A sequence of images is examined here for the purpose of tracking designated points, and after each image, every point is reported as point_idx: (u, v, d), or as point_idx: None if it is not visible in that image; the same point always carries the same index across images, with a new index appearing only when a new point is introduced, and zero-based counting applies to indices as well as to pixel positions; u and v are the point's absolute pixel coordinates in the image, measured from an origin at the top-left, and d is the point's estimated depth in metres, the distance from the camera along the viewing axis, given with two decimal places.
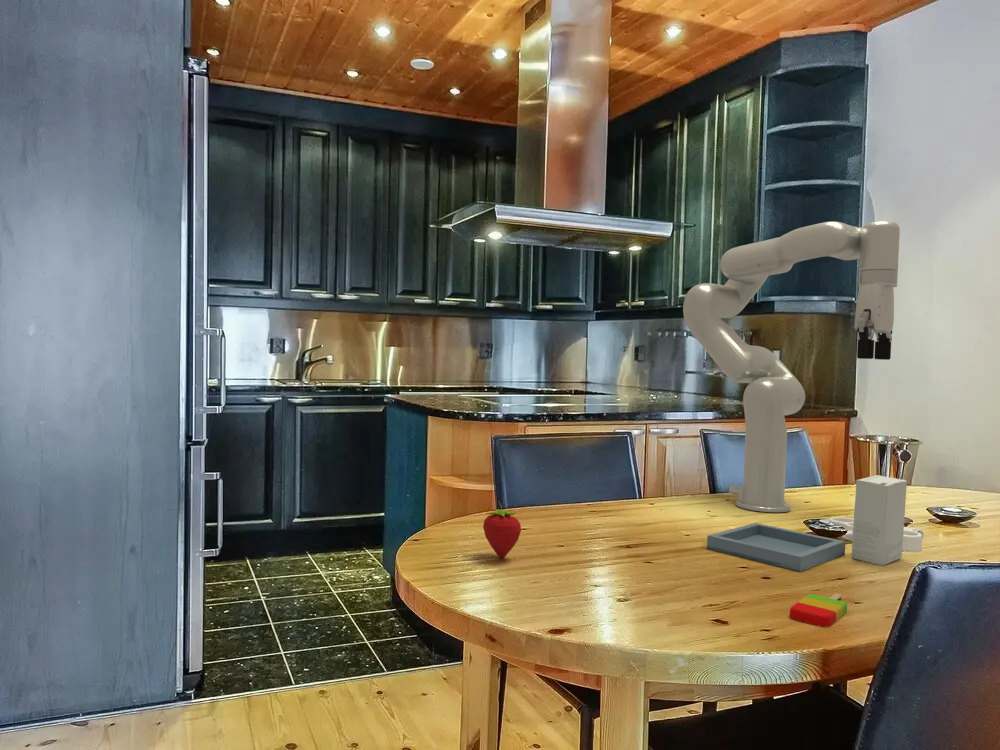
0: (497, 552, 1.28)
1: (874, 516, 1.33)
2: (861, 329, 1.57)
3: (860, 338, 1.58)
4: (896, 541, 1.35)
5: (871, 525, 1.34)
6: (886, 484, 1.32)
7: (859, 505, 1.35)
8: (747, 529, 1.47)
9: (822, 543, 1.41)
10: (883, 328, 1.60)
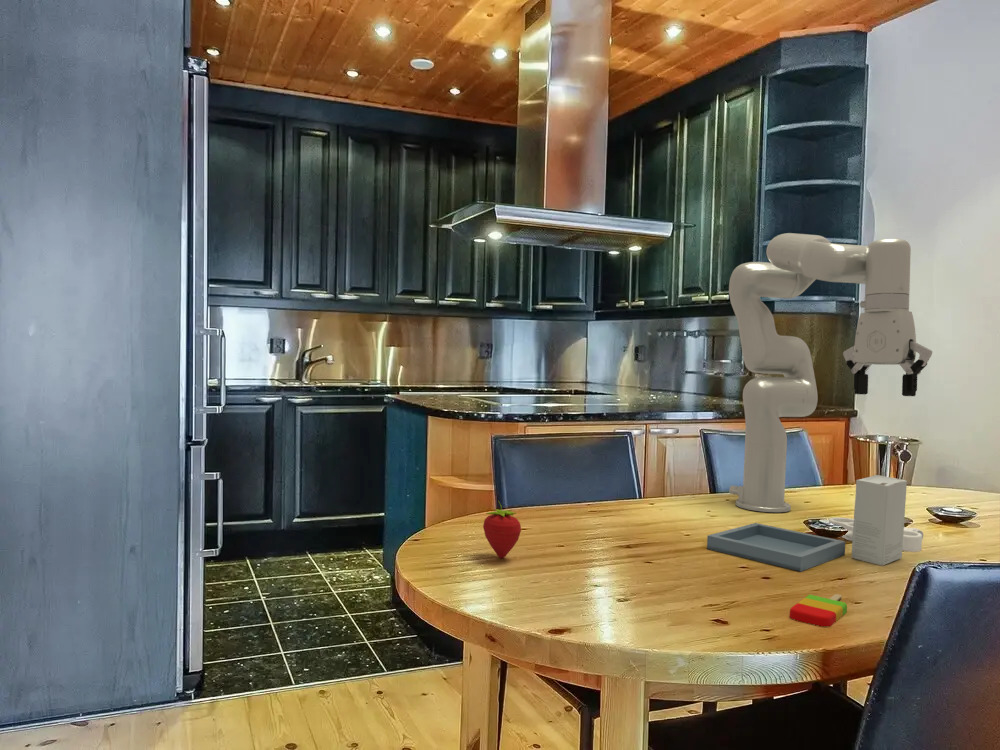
0: (497, 552, 1.28)
1: (874, 516, 1.33)
2: (925, 363, 1.36)
3: (913, 372, 1.37)
4: (896, 541, 1.35)
5: (871, 525, 1.34)
6: (886, 484, 1.32)
7: (859, 505, 1.35)
8: (747, 529, 1.47)
9: (822, 543, 1.41)
10: None
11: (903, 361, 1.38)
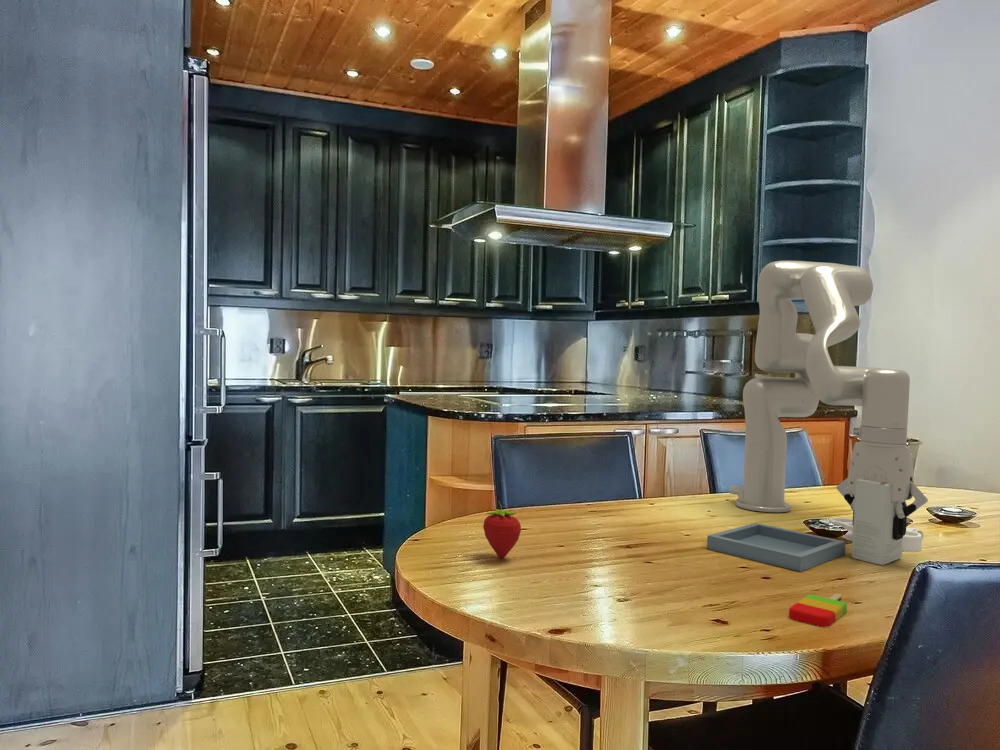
0: (497, 552, 1.28)
1: (874, 516, 1.33)
2: (916, 509, 1.32)
3: (905, 516, 1.33)
4: (896, 541, 1.35)
5: (870, 524, 1.34)
6: (886, 484, 1.32)
7: (859, 505, 1.35)
8: (747, 529, 1.47)
9: (822, 543, 1.41)
10: None
11: (898, 503, 1.33)
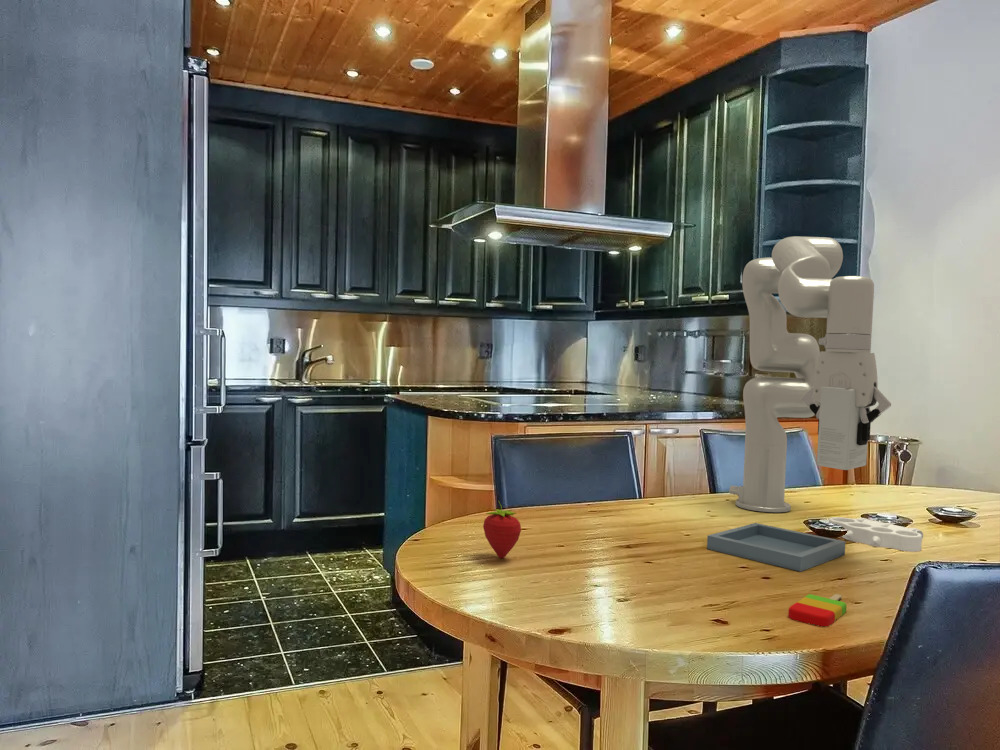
0: (497, 552, 1.28)
1: (838, 421, 1.34)
2: (880, 413, 1.33)
3: (869, 421, 1.33)
4: (860, 447, 1.36)
5: (835, 430, 1.34)
6: (850, 389, 1.33)
7: (824, 412, 1.36)
8: (747, 529, 1.47)
9: (822, 543, 1.41)
10: None
11: (862, 408, 1.34)
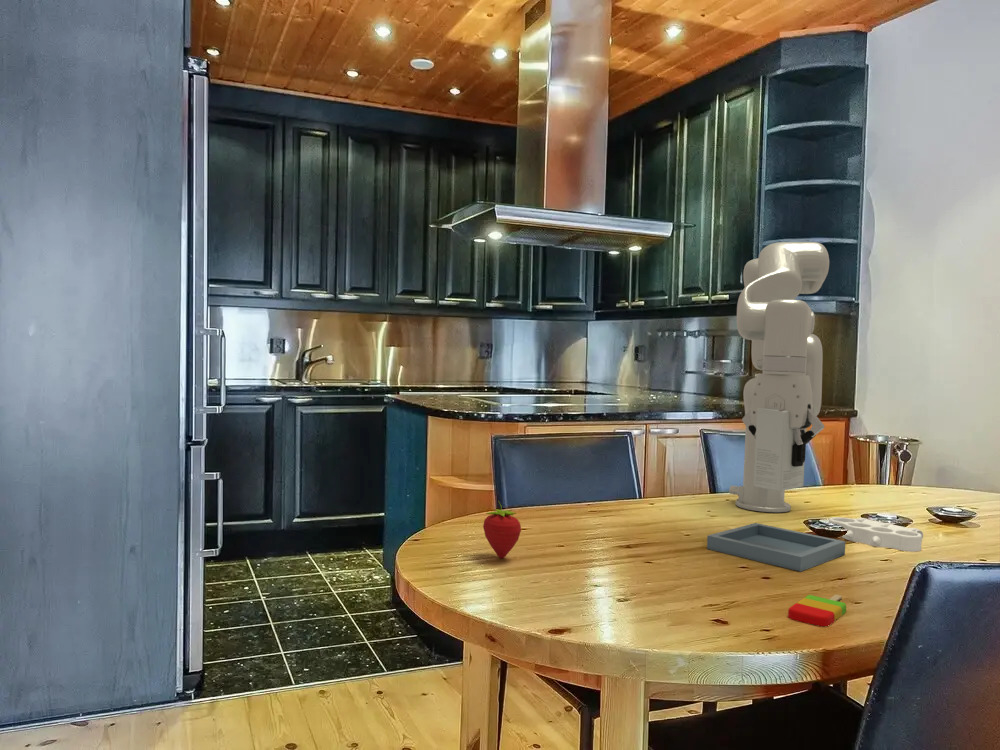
0: (497, 552, 1.28)
1: (773, 443, 1.35)
2: (814, 435, 1.34)
3: (803, 443, 1.35)
4: (796, 469, 1.37)
5: (770, 451, 1.36)
6: (784, 410, 1.35)
7: (759, 433, 1.38)
8: (747, 529, 1.47)
9: (822, 543, 1.41)
10: None
11: (796, 430, 1.35)
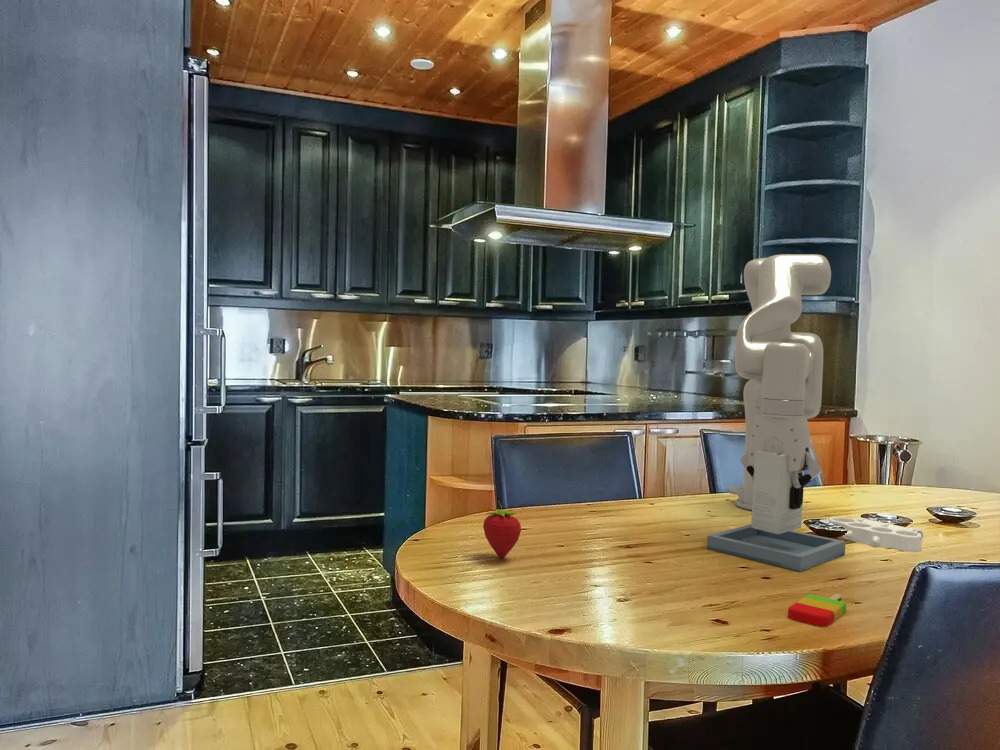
0: (497, 552, 1.28)
1: (770, 486, 1.36)
2: (811, 479, 1.35)
3: (801, 486, 1.35)
4: (794, 511, 1.38)
5: (768, 494, 1.36)
6: (781, 454, 1.35)
7: (757, 476, 1.38)
8: (747, 529, 1.47)
9: (822, 543, 1.41)
10: None
11: (794, 473, 1.36)
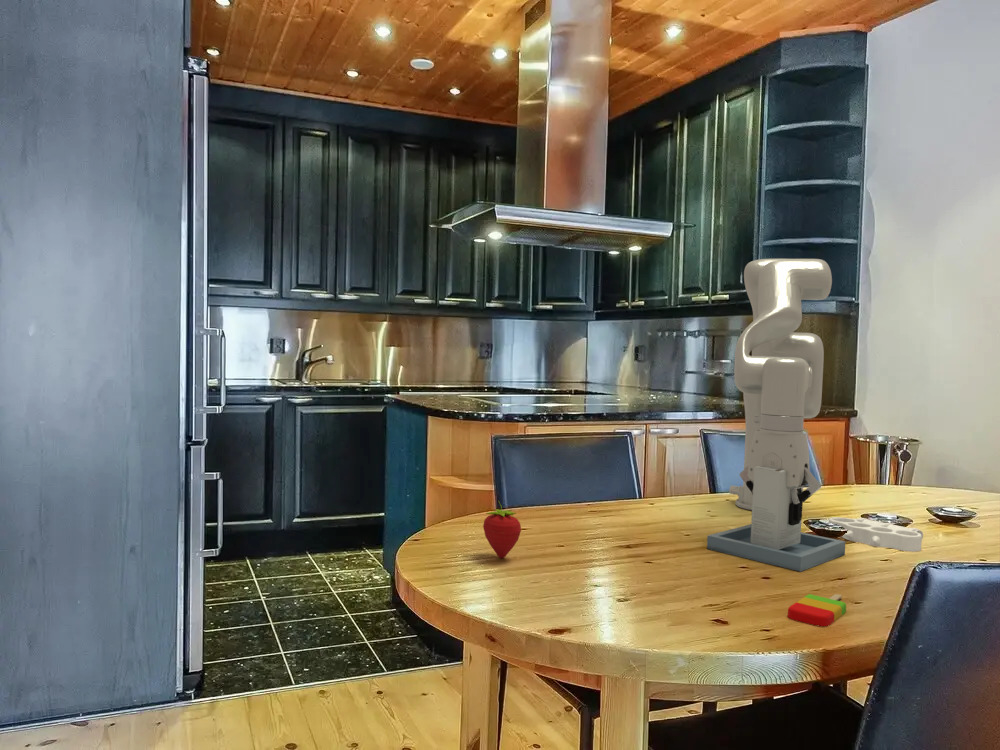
0: (497, 552, 1.28)
1: (770, 502, 1.36)
2: (810, 494, 1.35)
3: (800, 502, 1.36)
4: (793, 526, 1.38)
5: (767, 510, 1.37)
6: (781, 470, 1.35)
7: (757, 491, 1.38)
8: (747, 529, 1.47)
9: (822, 543, 1.41)
10: None
11: (793, 489, 1.36)
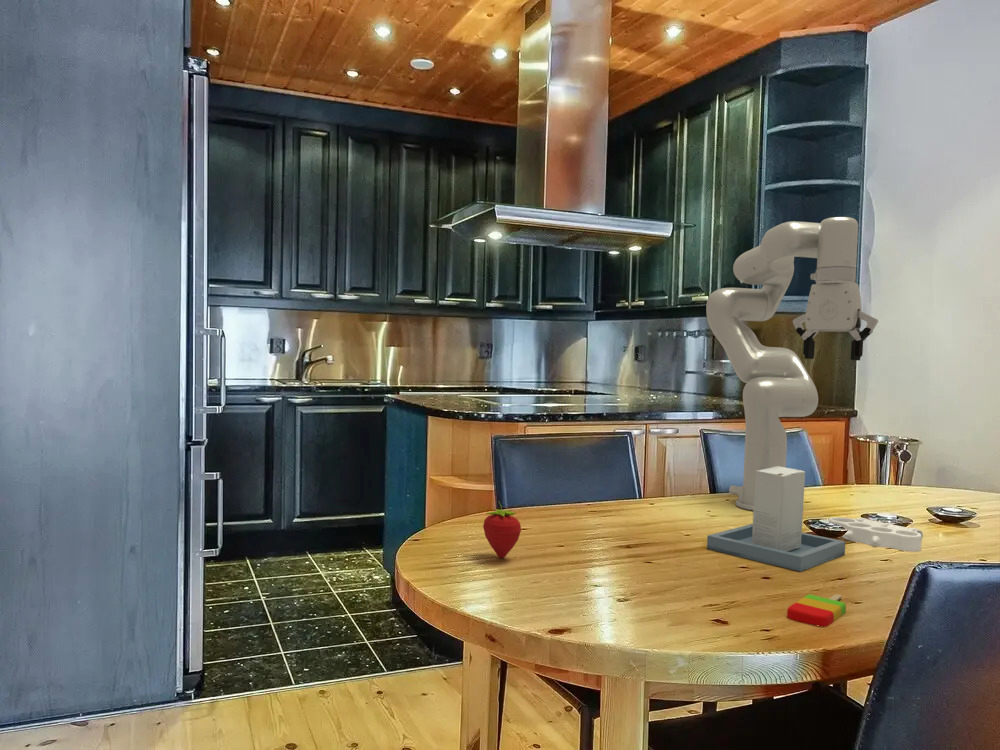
0: (497, 552, 1.28)
1: (771, 506, 1.36)
2: (871, 330, 1.51)
3: (861, 339, 1.52)
4: (794, 531, 1.38)
5: (768, 514, 1.37)
6: (782, 474, 1.35)
7: (758, 495, 1.38)
8: (747, 529, 1.47)
9: (822, 543, 1.41)
10: None
11: (852, 328, 1.53)
